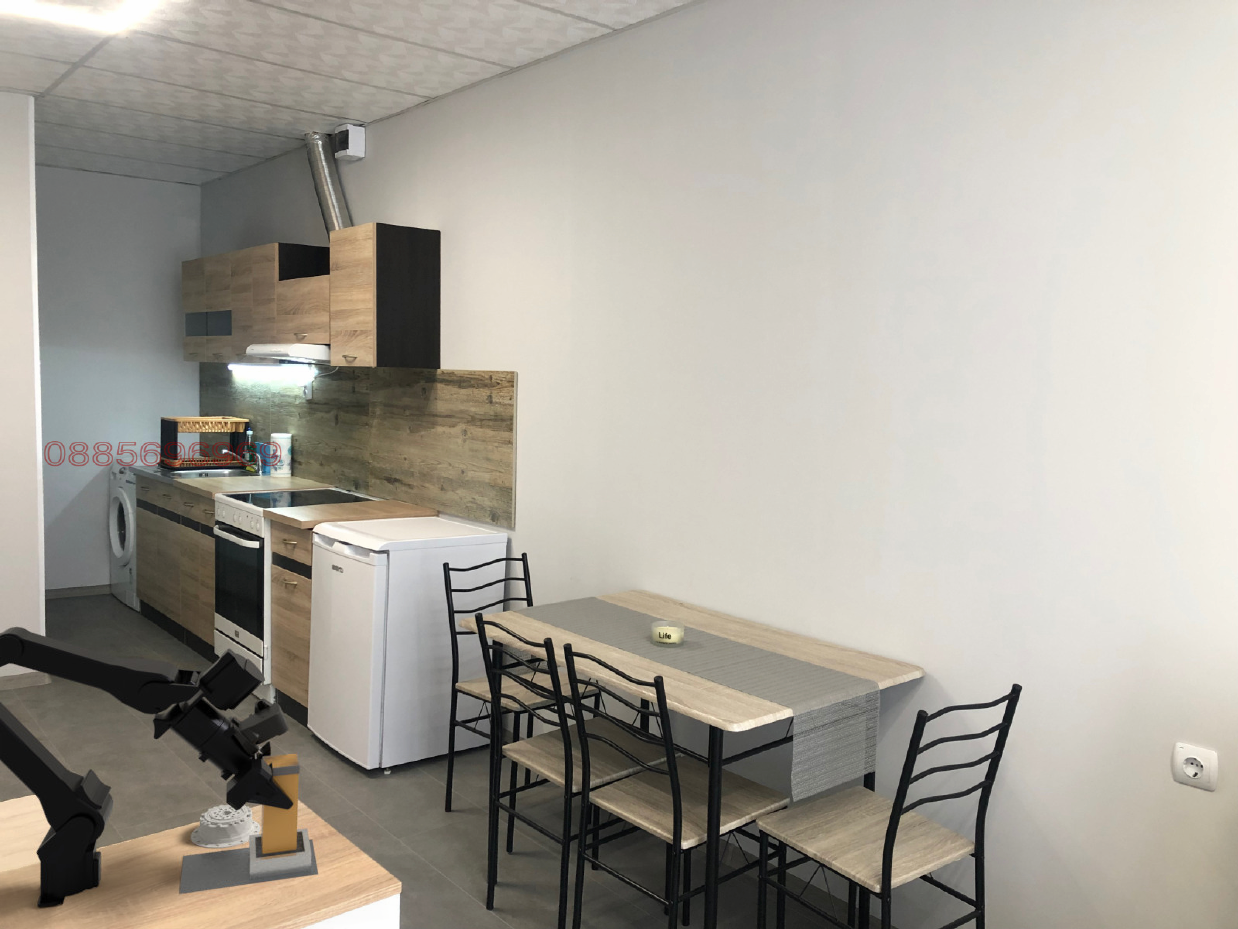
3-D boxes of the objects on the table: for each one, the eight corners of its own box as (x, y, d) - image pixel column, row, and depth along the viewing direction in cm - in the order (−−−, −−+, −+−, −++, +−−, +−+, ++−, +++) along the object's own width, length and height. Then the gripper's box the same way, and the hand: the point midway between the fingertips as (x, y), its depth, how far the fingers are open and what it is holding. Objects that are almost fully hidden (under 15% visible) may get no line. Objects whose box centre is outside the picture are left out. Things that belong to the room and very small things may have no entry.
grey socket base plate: (179, 900, 128) (179, 876, 128) (183, 862, 138) (183, 839, 138) (318, 880, 135) (318, 857, 135) (312, 845, 145) (312, 823, 145)
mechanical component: (178, 841, 145) (211, 863, 139) (178, 813, 145) (211, 834, 138) (239, 820, 153) (273, 840, 147) (239, 793, 152) (273, 813, 146)
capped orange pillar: (261, 854, 135) (263, 769, 134) (260, 839, 139) (262, 756, 138) (297, 849, 136) (299, 765, 136) (294, 835, 141) (297, 753, 140)
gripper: (255, 711, 126) (338, 782, 131) (252, 671, 143) (326, 735, 148) (189, 774, 124) (276, 845, 128) (194, 726, 141) (271, 790, 146)
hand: (290, 799), depth 138 cm, fingers closed on capped orange pillar, 5 cm apart
